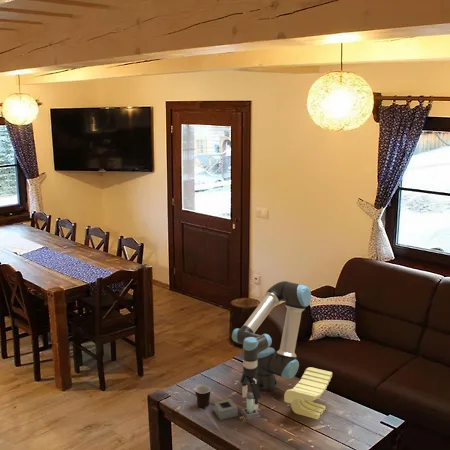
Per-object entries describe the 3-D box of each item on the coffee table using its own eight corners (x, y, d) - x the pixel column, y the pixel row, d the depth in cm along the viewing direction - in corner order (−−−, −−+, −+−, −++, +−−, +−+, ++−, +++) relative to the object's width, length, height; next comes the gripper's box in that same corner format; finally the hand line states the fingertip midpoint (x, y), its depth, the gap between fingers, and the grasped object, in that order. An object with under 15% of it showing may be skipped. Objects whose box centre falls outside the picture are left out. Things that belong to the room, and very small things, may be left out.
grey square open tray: (253, 410, 312) (253, 405, 311) (260, 418, 304) (260, 412, 304) (240, 413, 309) (240, 408, 308) (246, 421, 301) (246, 416, 301)
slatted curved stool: (304, 394, 329) (305, 365, 325) (331, 401, 321) (332, 372, 317) (283, 419, 303) (284, 388, 299) (312, 427, 295) (312, 396, 292)
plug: (251, 411, 309) (252, 391, 306) (255, 415, 305) (255, 395, 303) (245, 413, 307) (245, 393, 305) (248, 416, 304) (248, 396, 301)
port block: (230, 408, 314) (230, 398, 313) (237, 417, 305) (237, 407, 303) (213, 412, 310) (213, 402, 309) (220, 421, 301) (220, 411, 300)
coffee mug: (208, 410, 312) (208, 394, 310) (193, 409, 314) (193, 392, 312) (213, 399, 323) (213, 383, 321) (198, 398, 325) (198, 382, 323)
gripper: (234, 357, 310) (234, 393, 315) (254, 377, 288) (253, 415, 292) (246, 355, 313) (246, 390, 317) (267, 375, 290) (266, 412, 295)
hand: (250, 402), depth 305 cm, fingers open, 13 cm apart
